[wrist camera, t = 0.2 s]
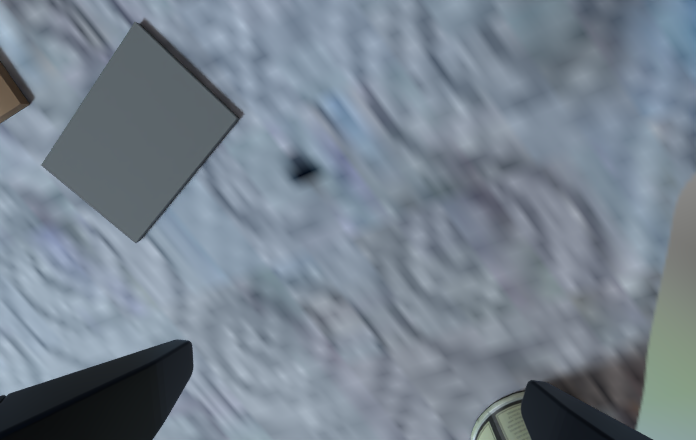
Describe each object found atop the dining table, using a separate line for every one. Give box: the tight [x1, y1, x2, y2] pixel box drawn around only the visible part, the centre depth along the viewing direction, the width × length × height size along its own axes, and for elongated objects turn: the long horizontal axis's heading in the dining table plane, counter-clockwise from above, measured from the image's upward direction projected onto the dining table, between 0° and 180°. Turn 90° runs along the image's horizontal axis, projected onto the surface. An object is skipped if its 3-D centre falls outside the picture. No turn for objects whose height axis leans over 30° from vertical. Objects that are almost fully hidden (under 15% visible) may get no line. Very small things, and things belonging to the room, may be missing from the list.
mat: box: [41, 22, 239, 243], centre depth 22 cm, size 12×8×1 cm, turn 136°
